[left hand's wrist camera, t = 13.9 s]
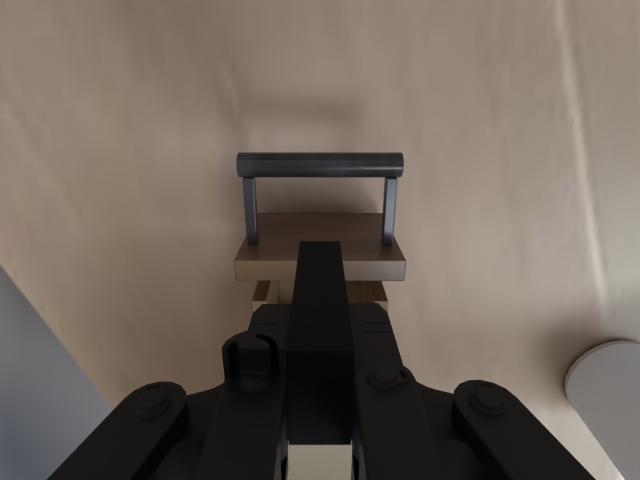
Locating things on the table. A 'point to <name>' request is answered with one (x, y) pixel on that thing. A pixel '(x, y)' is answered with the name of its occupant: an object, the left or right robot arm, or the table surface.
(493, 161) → the table surface
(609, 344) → the mug
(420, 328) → the table surface
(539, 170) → the table surface
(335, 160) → the drawer
